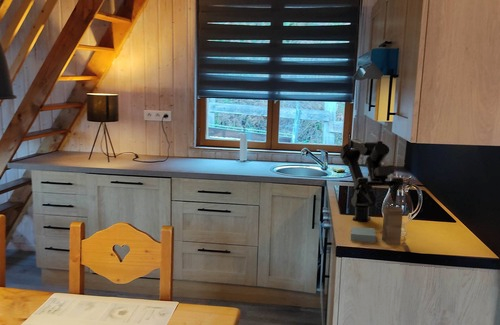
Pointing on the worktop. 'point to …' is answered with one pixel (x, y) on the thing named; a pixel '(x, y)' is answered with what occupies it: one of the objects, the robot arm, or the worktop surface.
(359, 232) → the base block
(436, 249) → the worktop surface
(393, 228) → the walnut pillar
